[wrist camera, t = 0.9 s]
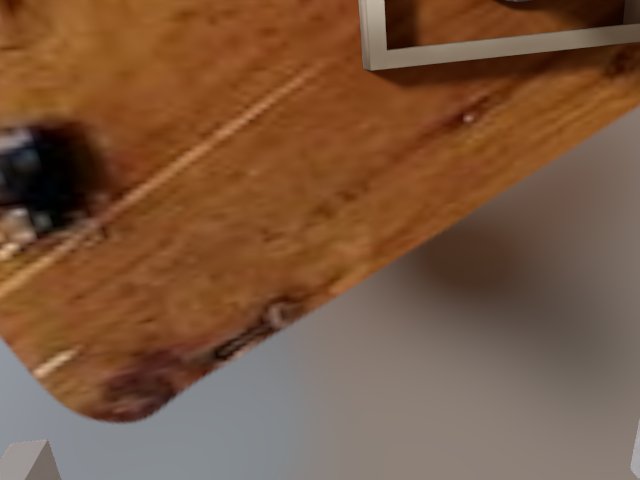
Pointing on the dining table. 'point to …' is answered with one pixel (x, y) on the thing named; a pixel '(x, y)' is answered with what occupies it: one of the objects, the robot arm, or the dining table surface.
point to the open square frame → (484, 41)
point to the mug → (518, 0)
